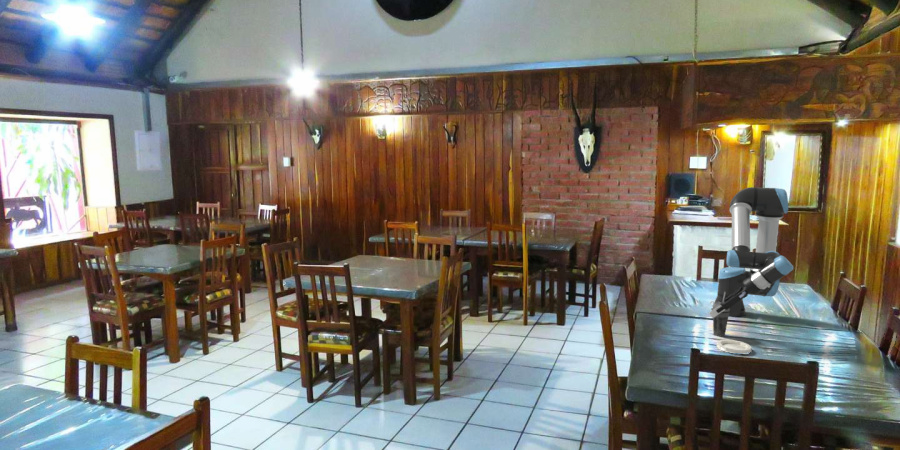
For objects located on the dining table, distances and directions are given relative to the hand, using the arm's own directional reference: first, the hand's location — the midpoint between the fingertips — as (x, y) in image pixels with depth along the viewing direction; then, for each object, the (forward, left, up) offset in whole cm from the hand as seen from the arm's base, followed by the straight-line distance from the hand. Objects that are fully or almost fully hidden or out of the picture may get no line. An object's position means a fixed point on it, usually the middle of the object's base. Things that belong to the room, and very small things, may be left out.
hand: (712, 313), depth 250 cm
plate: (-3, +19, -10) cm, 22 cm away
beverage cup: (-3, +1, -10) cm, 10 cm away
